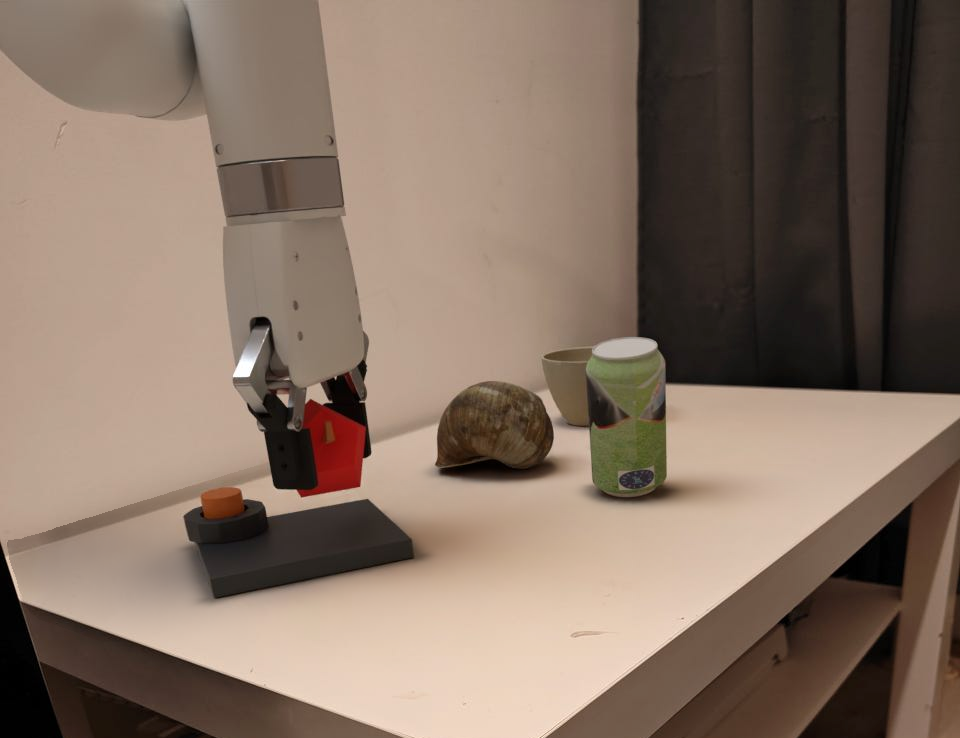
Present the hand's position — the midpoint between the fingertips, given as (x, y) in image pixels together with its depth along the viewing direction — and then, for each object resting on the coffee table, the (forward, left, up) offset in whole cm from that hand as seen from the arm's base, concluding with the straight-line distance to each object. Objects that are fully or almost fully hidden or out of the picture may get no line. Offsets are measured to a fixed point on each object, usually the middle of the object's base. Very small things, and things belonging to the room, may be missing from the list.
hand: (325, 470), depth 66 cm
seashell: (+18, +15, -6) cm, 24 cm away
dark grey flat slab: (-3, +2, -6) cm, 7 cm away
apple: (0, 0, -2) cm, 2 cm away
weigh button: (-7, +6, -3) cm, 10 cm away
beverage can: (+24, +1, -6) cm, 25 cm away
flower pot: (+34, +27, -6) cm, 44 cm away
